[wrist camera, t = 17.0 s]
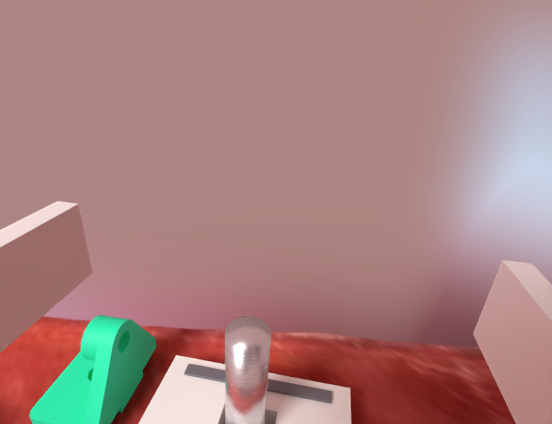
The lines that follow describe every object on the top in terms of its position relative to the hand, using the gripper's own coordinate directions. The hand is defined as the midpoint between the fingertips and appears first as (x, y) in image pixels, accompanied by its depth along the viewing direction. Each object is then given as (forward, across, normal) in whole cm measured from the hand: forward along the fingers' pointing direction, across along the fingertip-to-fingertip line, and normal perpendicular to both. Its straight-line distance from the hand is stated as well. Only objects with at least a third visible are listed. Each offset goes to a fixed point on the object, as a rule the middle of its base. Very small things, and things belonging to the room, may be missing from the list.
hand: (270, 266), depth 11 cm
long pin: (+11, -3, -30) cm, 32 cm away
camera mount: (+14, -21, -30) cm, 40 cm away
